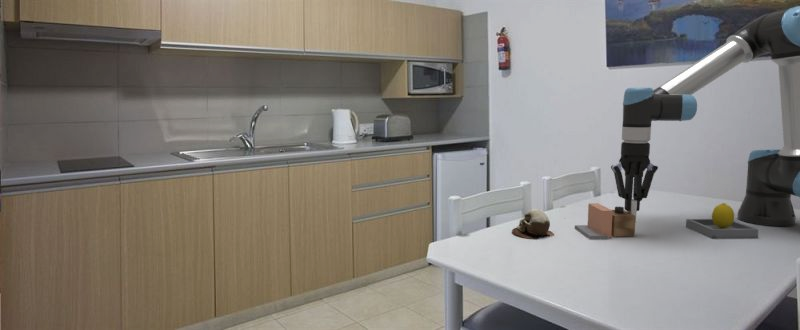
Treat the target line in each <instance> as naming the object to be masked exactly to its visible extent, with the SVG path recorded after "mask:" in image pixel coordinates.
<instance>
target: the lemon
mask: <svg viewBox="0 0 800 330" xmlns="http://www.w3.org/2000/svg"><path fill="white" fill-rule="evenodd" d="M711 219H712V220H713V223H714V224H715V225H716V226H718V227H719V228H720V229H725V228H727V227H729V226H731V225H732V223H733V221H735V212H734V210H733V208H732V207H731V206H730V205H728V204H726V202H722V203H719V204H718V205H716V206H715V207H714V208H713V210H712V213H711Z"/></svg>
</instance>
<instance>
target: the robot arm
mask: <svg viewBox="0 0 800 330" xmlns="http://www.w3.org/2000/svg"><path fill="white" fill-rule="evenodd" d="M768 54H770V58H771V59H770V60H771V61H772V62H774V64H776V65H777V66H778V77H779V79H778V80H779V93H780V107H781V108H780V109H781V122H782V135H783V136H782V138H783V139H782V140H783V147H782V148H781V149H755V150H751V152H749V154H748V161H747V164H748V165H747V177H746V185H745V186H746V187H745V188H746V189H745V196H744V198H743V200H742V202H741V205H740V207H739V208H738V211H737V215H736V216H737V219H738V220H740V221H742V222H745V223H746V222H747V223H750V224H754V225H755V224H756V225H762V226H769V227H770V226H773V227H790V226H795V225H796V222H797V221H796V219H797V217H796V214H795V210H794V207H793V204H792V200H791V197H792V196H795V197H799V198H800V5H798V6H794V7H790V8H787V9H782V10H777V11H772V12H768V13H766V14H763V15H761V16H759V17H758V18H755V19H753V20H752V21H751V22H749V23H747V24H746V25H745V26H743V27H741V28H740V29H739V30H737V31H736V32H734V33H733V34H731V35H729V36H728V37H727V38H726V40H725V43H723V44H722V45H720V46H719V47H718V48H716V49H715V50H713V51H711V52H710V53H708V54H707V55H705V56H704V57H702V58H700V59H699V60H698V61H695V63H693V64H692V65H690V66H688V67H687V68H686V69H684V70H682V71H680V72H679V73H678V74H676V75H675V76H673V77H672V78H670V79H668V80H667V81H666V82H664V83H663V84H661V85H660V86H658V87H656V88H654V89H653V88H652V87H629V88H626V89H625V90H624V94H623V101H622V102H623V103H622V127H621V140H622V142H621V144H620V145H621V146H620V158H619V160H618V163H616V164H614V165H613V164H612V165H611V166H610V169H611V170H612V172H613V175H614V179H615V185H616V189H617V195H618V197H620V198H621V199H624V210H625V211H627V212H629V213H631V214H633V215H635V216H636V217H637V212H639V211H640V205H641V202H642V201H643V199H647V198H648V196H649V192H650V189H651V185H652V181H653V178H654V176H655V173H656V172H657V170H658V169H659V166H658V165H655V164H653V163H651V160H650V152H651V151H650V150H651V144H650V141H651V133H652V121H653V122H658V121H660V122H662V121H663V122H665V121H666V122H670V121H671V122H672V121H673V122H674V121H675V122H682V121H683V122H685V121H691V120H692V119H694V118H695V116H696V114H697V113H698V112H697V111H698V102H697V99H696V98H695V96H693V94H695V93H696V92H698V91H699V90H701V89H703V88H705V87H706V86H707V85H709V84H710V83H712V82H714V81H715V80H717V79H719V78H720V77H721V76H723V75H725V74H726V73H727V72H730V71H731V70H733V69H734V68H735V67H737V66H739V65H740V64H742V63H746V64H747V63H749V62H751V61H752V60H754V59H756V58H758V57H760V56H764V55H768ZM622 170H623V171H624V176H625V177H624V178H623V173H622ZM645 170H646V171H645ZM644 172H645V174H644ZM643 177H644V178H643ZM636 223H637V219H636V220H635V224H636Z"/></svg>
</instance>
